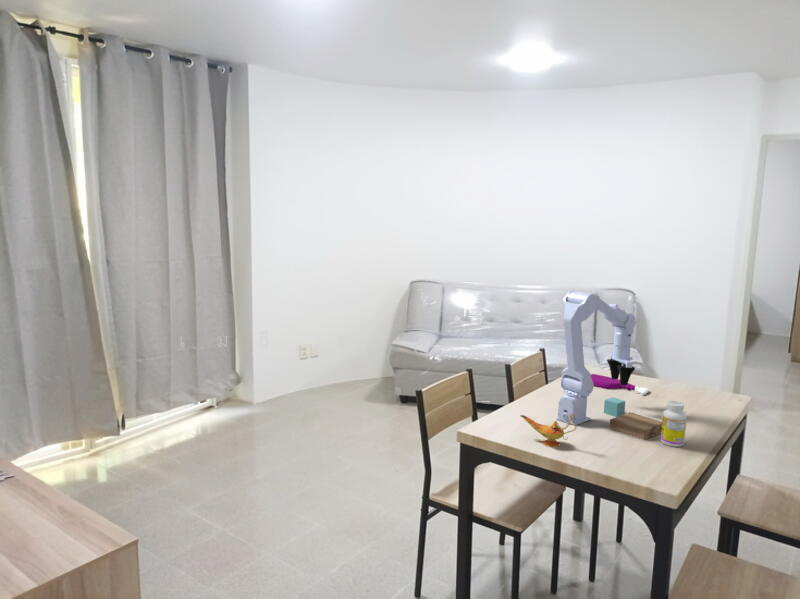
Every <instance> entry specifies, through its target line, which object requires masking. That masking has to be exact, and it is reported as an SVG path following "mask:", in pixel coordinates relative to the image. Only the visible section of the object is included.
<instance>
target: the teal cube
mask: <svg viewBox="0 0 800 599" xmlns="http://www.w3.org/2000/svg"><path fill="white" fill-rule="evenodd" d="M625 409H626V400H623V399H620V398H617V397H613V396H612V397H609V398H606V399H604V403H603V414H605V413H606V414H605V415H609V416H612V417H613V418H616V417H618V416H621V415H624V414H626V413H625Z"/></svg>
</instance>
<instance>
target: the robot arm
mask: <svg viewBox="0 0 800 599" xmlns="http://www.w3.org/2000/svg"><path fill="white" fill-rule="evenodd" d="M562 303H563V304H562V305H563V314H564V315H563V327H564V328H563V329H564V337H565V338H564V340H565V349H566V350H565V352H566V362H567V364H566V365H567V366H566V367H565V368H564V369H562V371H561V379H560V386H561V389H562V390H563V393H564V396H563V397H561V398H560V399H559V401H558V409H557V410H558V411H557V412H558V413H557V416H555V419H556V420H558V421H562V422H564V423H567V424H568V422H569V419H570V417H571V415H572V414H574V416H572V418H574V419H572V420H573V421H574V422H575V424H576V426H577V425H579V424H583V423H586V422H588V421H591V420H592V417H589V416H587V406H588V397H589V396H591V393H592V392H593V391H594V387H595V386H594V385H593V381H592V379H591V374H592V373H590V371H589V370H588V369H587V368H586V367H585V357H584V356H585V355H584V354H585V353H584V347H583V346H584V344H583V342H584V341H583V332H582V331H583V330H582V329H583V328H582V323H583V322H584V321H586V320H588V319H589V318H590V317H591V316H592V314H594V313H595V312H596V311H597V312H599V313H601V314H602V317H603V319H605V320H606V321H607V322H609V323H611V325H612V326H613V327H614V334H613V348H612V352H611V351H610V354H609V359H606V361H607V364H608V367H609V370H610V377H611V378H612V379H619V380H620V384H621V385H627V384H628V383H629V380H630V379H631V376H632V374H633V373H634V372H635V369H636V367H635V366H634V365H633V361H632V360H633V357H632V356H631V345H632V344H631V343H632V335H633V333H634V330H635V327H636V324H637V319H636V317H635V315H634V314H632V313H629V312H626V310H625V309H623V308H620V307H619V305H618V304H617V303H610V304H608V303H606V302H605V301H604V300H603V299H601V298H600V296H599V295H596V294H595V293H589V292H588V293H586V292H580V291H575V290H569V291H568V292H567V293H566V295H565V296H564V298H563V299H562ZM569 415H570V416H569ZM570 420H571V419H570ZM572 420H571V421H570V422H569V425H572V426H575V424H574V423H573V421H572Z"/></svg>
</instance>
